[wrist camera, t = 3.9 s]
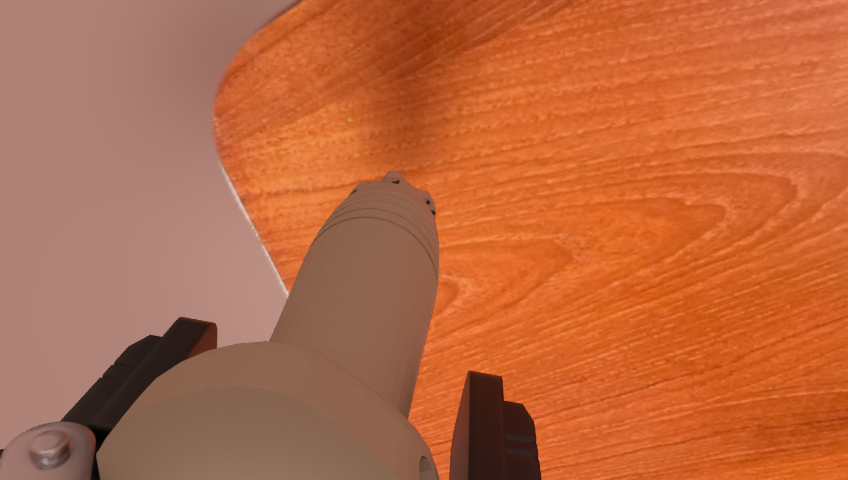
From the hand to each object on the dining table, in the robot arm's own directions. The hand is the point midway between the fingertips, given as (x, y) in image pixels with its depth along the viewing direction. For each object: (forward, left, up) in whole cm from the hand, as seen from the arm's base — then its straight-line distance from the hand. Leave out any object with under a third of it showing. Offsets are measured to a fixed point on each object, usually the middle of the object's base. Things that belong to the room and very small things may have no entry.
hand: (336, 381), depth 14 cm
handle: (0, 0, -11) cm, 11 cm away
